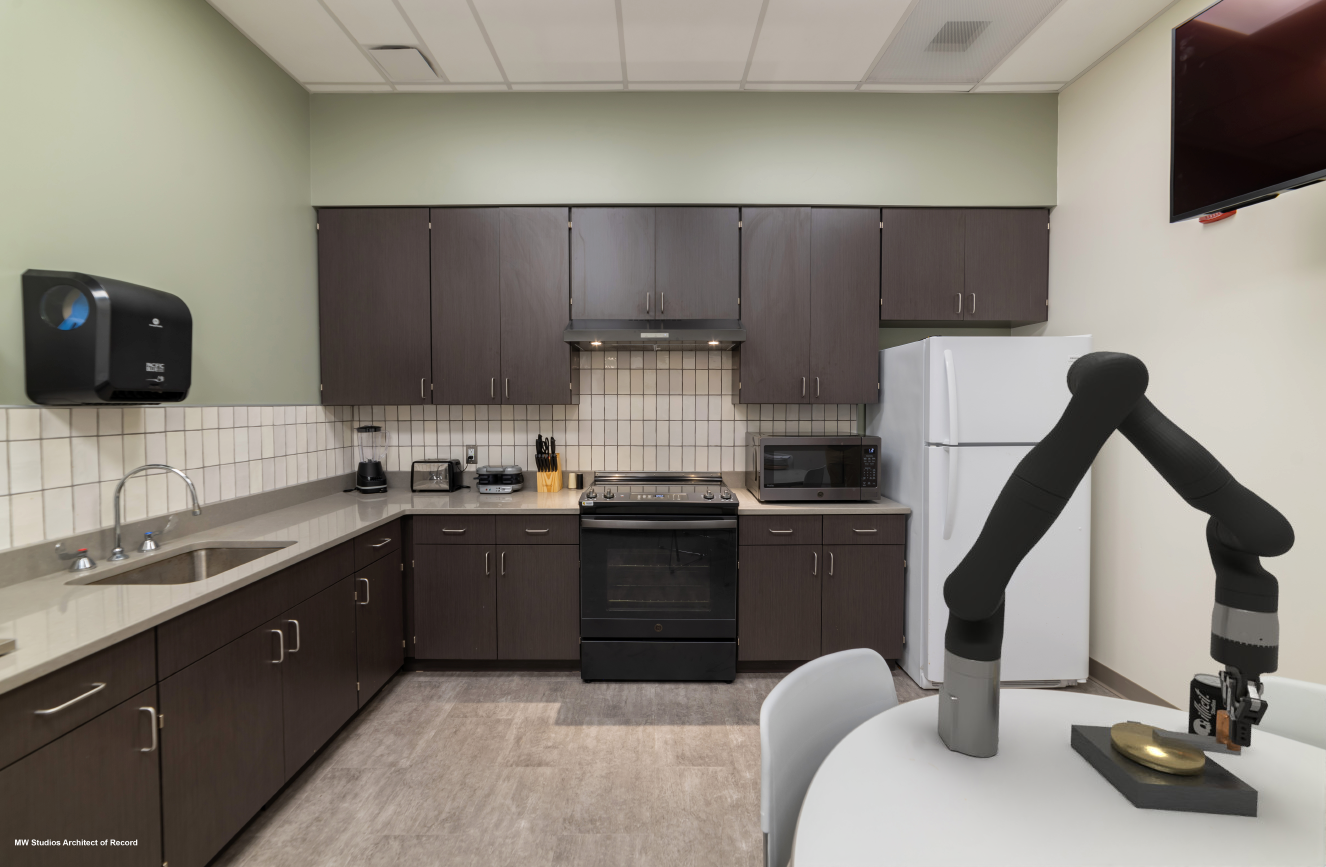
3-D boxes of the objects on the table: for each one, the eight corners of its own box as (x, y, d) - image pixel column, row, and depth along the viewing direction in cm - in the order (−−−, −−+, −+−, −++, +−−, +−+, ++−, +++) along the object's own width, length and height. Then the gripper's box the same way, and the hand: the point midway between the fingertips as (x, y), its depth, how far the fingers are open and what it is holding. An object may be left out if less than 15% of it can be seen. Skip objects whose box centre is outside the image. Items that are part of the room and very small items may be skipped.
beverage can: (1241, 757, 103) (1244, 691, 103) (1192, 745, 107) (1195, 682, 107) (1230, 740, 109) (1233, 677, 109) (1184, 729, 113) (1186, 669, 112)
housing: (1136, 807, 89) (1138, 781, 89) (1070, 745, 106) (1071, 723, 106) (1256, 816, 88) (1258, 789, 88) (1169, 752, 105) (1170, 729, 104)
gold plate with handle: (1133, 767, 92) (1135, 718, 92) (1094, 726, 105) (1096, 682, 105) (1267, 786, 88) (1269, 735, 88) (1209, 740, 101) (1211, 695, 101)
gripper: (1296, 653, 83) (1290, 772, 83) (1261, 627, 94) (1256, 731, 95) (1225, 642, 87) (1220, 756, 87) (1199, 618, 98) (1195, 718, 98)
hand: (1239, 743), depth 91 cm, fingers closed
